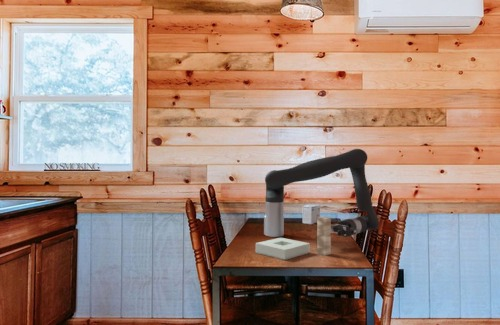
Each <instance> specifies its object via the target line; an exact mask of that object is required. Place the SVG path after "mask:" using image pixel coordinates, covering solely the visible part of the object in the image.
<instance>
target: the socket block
mask: <svg viewBox="0 0 500 325" xmlns="http://www.w3.org/2000/svg"><path fill="white" fill-rule="evenodd" d="M310 245H311V244H310V243H309V242H305V241H301V240H295V239H290V238H284V237H275V238H272V239H268V240H263V241H259V242H258V241H257V242H255V251H254V252H255V253H256V254H259V255H263V256H267V257H270V258H275V259H279V260H283V261H287V260H290V259H293V258H296V257H301V256H304V255H308V254H310V253H311V252H310V249H311V248H310V247H311V246H310Z"/></svg>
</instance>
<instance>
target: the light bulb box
mask: <svg viewBox="0 0 500 325" xmlns="http://www.w3.org/2000/svg"><path fill="white" fill-rule="evenodd" d="M301 207H302V208H301V211H302V215H301V216H302V224H308V225H313V224H317V218H318V217H321V205H320V204H314V203H313V204H312V203H311V204H306V205H302V206H301Z"/></svg>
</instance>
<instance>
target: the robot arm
mask: <svg viewBox="0 0 500 325" xmlns="http://www.w3.org/2000/svg"><path fill="white" fill-rule="evenodd" d="M367 160H368V154H367V152H366V151H365V150H363V149H360V148H354V149H352V150H349V151H345V152H343V153H341V154H336V155H333V156H327V157H320V158H318V159H316V158H315V159H313V160H310V161H309V160H308V161H305V162H303V163H299V164H298V165H295V166H293V167H290V168H284V169H280V170H279V169H278V170H276V169H275V170H270V171H268V172H267V173H266V175H265V178H264V181H265V215H264V217H263V235H265V236H266V237H271V238H281V237H283V236H284V233H285V232H284V229H285V228H284V225H285V223H284V222H285V221H284V218H285V216H284V212H285V210H284V209H285V208H284V204H285V203H284V200H285V196H284V195H285V186H287V185H290V184H293V183H298V182H306V181H310V180H311V181H312V180H315V179H320V178H323V177H326V176H329V175H331V174H333V173H335V172H338V171H342V170H346V169H349V170H350V173H351V177H352V182H353V187H354V194H355V200H356V207H357V210H358V211H361V212H365V213H366V215H361V216H356V217H352V218H350V217H349V218H345V219H342V220H340V221H338V223H336V224H331V234H337V236H338V237H343V238H346V237H350V236H351V237H352V236H354V235H357V234H360V233H362V232H364V231H374V230H377V229H379V226H380V219H379V218H378V215H377V212H376V211H375V209H374V207H373V203H372V202H373V201H372V196H371V192H370V191H371V190H370V188H369V185H368V182H367V178H366V170H365V169H366V168H365V165H366V164H367V162H368V161H367Z"/></svg>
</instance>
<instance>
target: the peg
mask: <svg viewBox="0 0 500 325" xmlns="http://www.w3.org/2000/svg"><path fill="white" fill-rule="evenodd" d="M331 221H332V217H330V216H329V217H328V216H320V217H318V218H317V223H316V224H317V225H316V227H317V228H316V250H317V251H316V255H321V256H329V255H331V254H332V251H331V250H332V233H331V225H332V222H331Z"/></svg>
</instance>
